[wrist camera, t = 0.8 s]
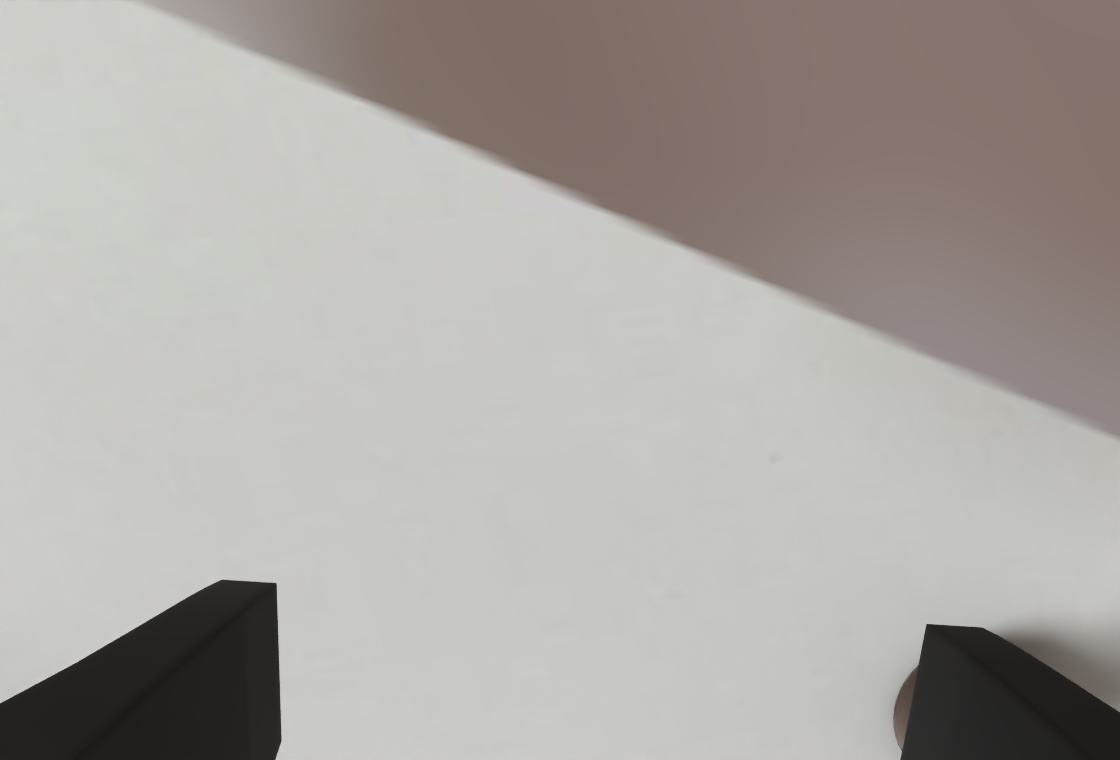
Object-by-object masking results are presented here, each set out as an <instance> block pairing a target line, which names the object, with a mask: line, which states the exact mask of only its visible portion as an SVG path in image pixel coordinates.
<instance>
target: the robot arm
mask: <svg viewBox="0 0 1120 760" xmlns="http://www.w3.org/2000/svg"><path fill="white" fill-rule="evenodd" d="M280 743H281V711H280V680H279V648H278V617H277V585H276V583H265V582H249V581H233V580H220V581H218V582H216V583H214V584H212V585H210V586H208V587H206V588H204V589H202V590H200V591H198V592H197V593H195V594H193V595H191V596H190V597H188V598H186V599H184V600H183V601H181V602H179V603H177V604H176V605H174V606H172V607H171V608H169V609H167V610H166V611H164V612H162V613H160V614H159V615H157V616H155V617H154V618H152V619H150V620H149V621H147V622H145V623H144V624H142V625H140V626H139V627H137V628H135V629H133V630H132V631H130V632H128V633H127V634H125V635H123V636H121V637H120V638H118V639H116V640H115V641H113V642H111V643H109V644H108V645H106V646H104V647H103V648H101V649H99V650H97V651H96V652H94V653H92V654H91V655H89V656H87V657H85V658H84V659H82V660H80V661H79V662H77V663H75V664H73V665H72V666H70V667H68V668H66V669H64V670H62V671H60V672H58V673H57V674H55V675H53V676H51V677H49V678H47V679H45V680H43V681H42V682H40V683H38V684H36V685H34V686H32V687H30V688H28V689H27V690H25V691H23V692H21V693H19V694H17V695H15V696H13V697H12V698H10V699H8V700H6V701H4V702H2V703H0V760H275V759H276V756H277V753H278V750H279V746H280ZM901 760H1120V712H1118V711H1117V710H1115V709H1114V708H1112V707H1110V706H1109V705H1107V704H1106V703H1104V702H1103V701H1101V700H1100V699H1098V698H1097V697H1095V696H1094V695H1092V694H1090V693H1089V692H1087V691H1086V690H1084V689H1083V688H1081V687H1080V686H1078V685H1077V684H1075V683H1073V682H1072V681H1070V680H1069V679H1067V678H1066V677H1064V676H1063V675H1061V674H1060V673H1058V672H1056V671H1055V670H1053V669H1052V668H1050V667H1049V666H1047V665H1046V664H1044V663H1042V662H1041V661H1039V660H1038V659H1036V658H1034V657H1033V656H1031V655H1030V654H1028V653H1026V652H1025V651H1023V650H1022V649H1020V648H1018V647H1017V646H1015V645H1013V644H1012V643H1010V642H1008V641H1006V640H1005V639H1003V638H1001V637H999V636H998V635H996V634H994V633H992V632H990V631H988V630H986V629H984V628H980V627H964V626H948V625H932V624H927V625H926V630H925V635H924V640H923V646H922V651H921V656H920V661H919V666H918V672H917V677H916V682H915V687H914V692H913V698H912V703H911V708H910V713H909V719H908V724H907V729H906V734H905V739H904V745H903V750H902V755H901Z"/></svg>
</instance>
